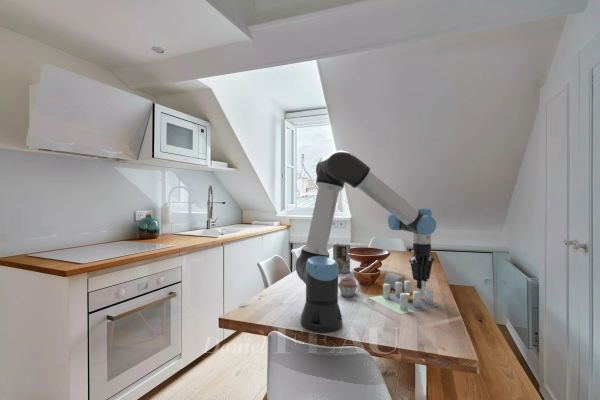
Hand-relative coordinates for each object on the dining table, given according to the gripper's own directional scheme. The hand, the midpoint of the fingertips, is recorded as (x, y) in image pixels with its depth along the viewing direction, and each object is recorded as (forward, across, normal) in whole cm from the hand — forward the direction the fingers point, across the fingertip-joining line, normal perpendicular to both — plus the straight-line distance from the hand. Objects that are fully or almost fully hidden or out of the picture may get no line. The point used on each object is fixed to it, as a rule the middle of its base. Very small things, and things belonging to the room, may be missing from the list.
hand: (420, 295), depth 134 cm
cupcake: (+3, -26, +19) cm, 33 cm away
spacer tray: (+2, -10, 0) cm, 11 cm away
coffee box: (+3, -5, +57) cm, 57 cm away
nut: (+1, -6, 0) cm, 7 cm away
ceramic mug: (+3, +2, +17) cm, 17 cm away
